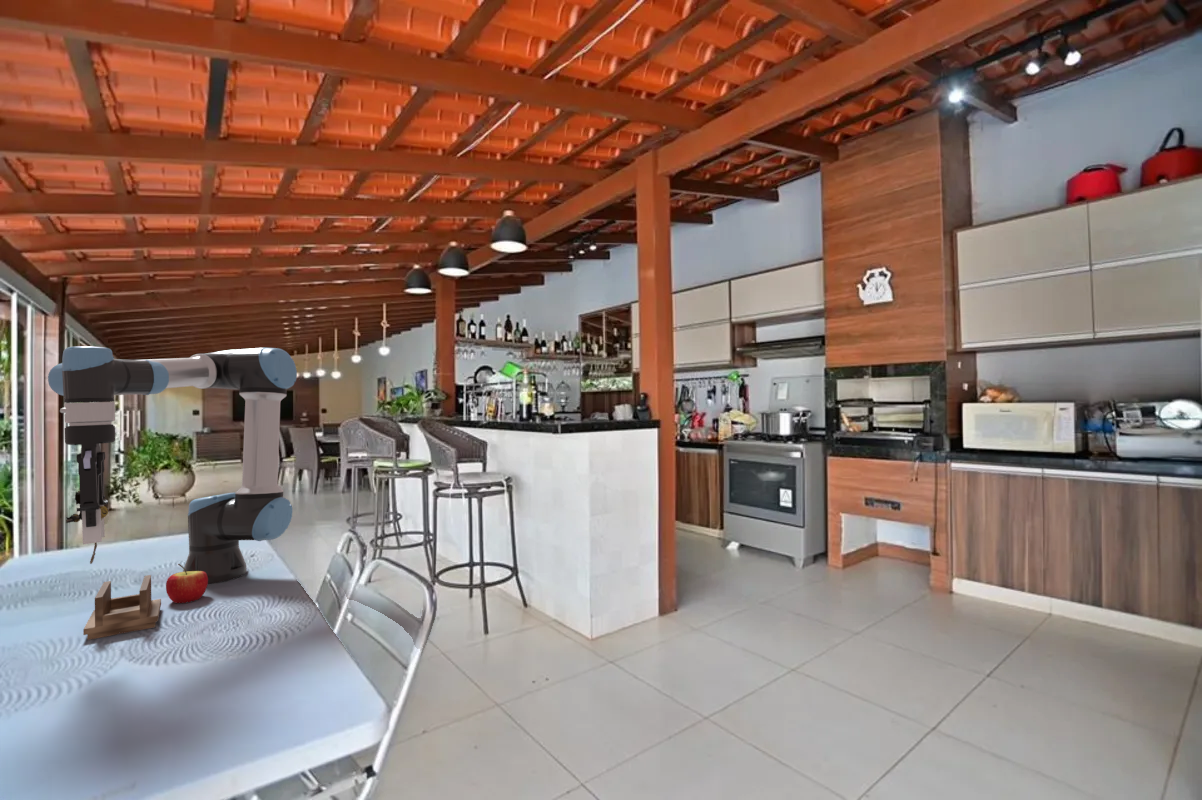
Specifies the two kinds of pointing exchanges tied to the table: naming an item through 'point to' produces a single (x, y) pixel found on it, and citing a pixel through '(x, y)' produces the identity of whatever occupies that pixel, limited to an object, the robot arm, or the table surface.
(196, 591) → the apple
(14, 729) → the table surface
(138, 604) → the stand
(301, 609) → the table surface
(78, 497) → the regulator
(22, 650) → the table surface
